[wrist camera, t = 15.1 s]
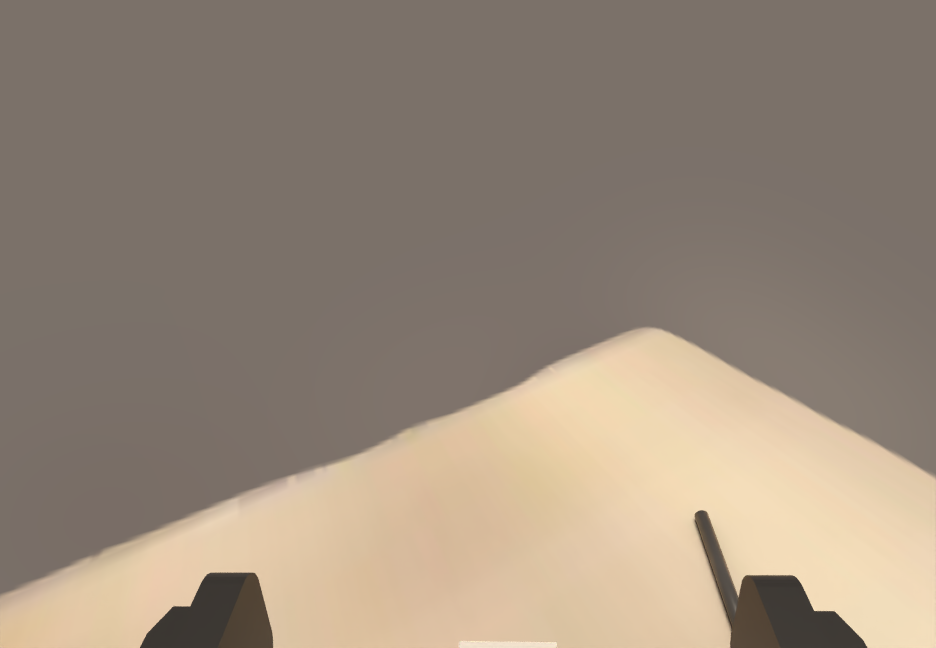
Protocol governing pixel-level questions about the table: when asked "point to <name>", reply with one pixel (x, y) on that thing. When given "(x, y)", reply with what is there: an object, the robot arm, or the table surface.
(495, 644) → the charger
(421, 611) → the table surface
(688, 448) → the table surface
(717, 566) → the strip
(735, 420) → the table surface
